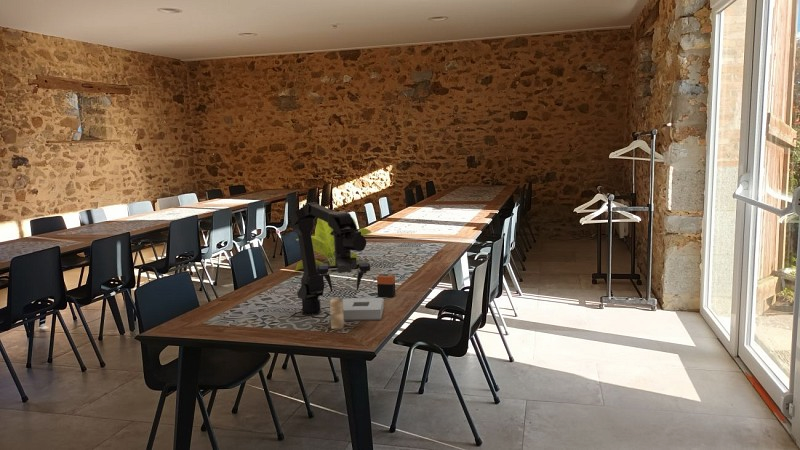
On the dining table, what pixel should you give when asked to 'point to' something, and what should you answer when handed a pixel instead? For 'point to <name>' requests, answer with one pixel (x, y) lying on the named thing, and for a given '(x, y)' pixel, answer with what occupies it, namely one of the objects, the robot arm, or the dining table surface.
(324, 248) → the artificial plant
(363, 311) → the socket block
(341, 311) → the peg
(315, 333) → the dining table surface
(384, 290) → the battery
